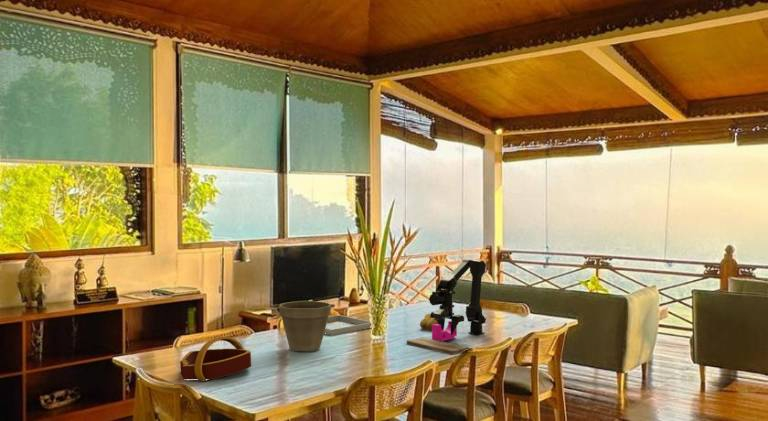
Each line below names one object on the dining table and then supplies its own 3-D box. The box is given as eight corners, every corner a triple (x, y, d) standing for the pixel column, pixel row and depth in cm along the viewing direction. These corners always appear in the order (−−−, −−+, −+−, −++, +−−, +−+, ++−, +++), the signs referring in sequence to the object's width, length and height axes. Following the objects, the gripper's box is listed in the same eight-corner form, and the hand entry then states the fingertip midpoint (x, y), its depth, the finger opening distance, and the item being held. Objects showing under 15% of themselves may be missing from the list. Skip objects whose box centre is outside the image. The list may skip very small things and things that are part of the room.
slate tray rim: (339, 319, 382) (339, 314, 382) (374, 327, 360) (374, 322, 359) (296, 326, 361) (296, 321, 361) (331, 335, 338) (331, 330, 338)
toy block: (441, 341, 321) (441, 326, 321) (432, 339, 325) (431, 324, 325) (460, 336, 331) (460, 322, 331) (451, 334, 336) (451, 320, 336)
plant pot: (310, 340, 326) (310, 298, 326) (341, 348, 309) (341, 304, 308) (269, 348, 309) (269, 304, 309) (299, 357, 291) (299, 310, 291)
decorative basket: (218, 364, 289) (214, 331, 289) (273, 361, 278) (268, 327, 278) (166, 386, 257) (161, 349, 258) (225, 383, 246) (220, 344, 247)
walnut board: (422, 340, 328) (423, 337, 328) (468, 350, 306) (468, 347, 306) (406, 343, 320) (406, 340, 320) (452, 354, 298) (452, 351, 298)
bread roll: (445, 330, 353) (445, 315, 353) (433, 332, 347) (433, 317, 347) (428, 326, 363) (428, 312, 363) (416, 328, 356) (416, 314, 356)
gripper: (423, 302, 330) (423, 332, 330) (450, 307, 316) (450, 338, 316) (437, 300, 337) (437, 329, 338) (464, 304, 324) (464, 335, 324)
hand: (447, 333), depth 329 cm, fingers closed on toy block, 6 cm apart
